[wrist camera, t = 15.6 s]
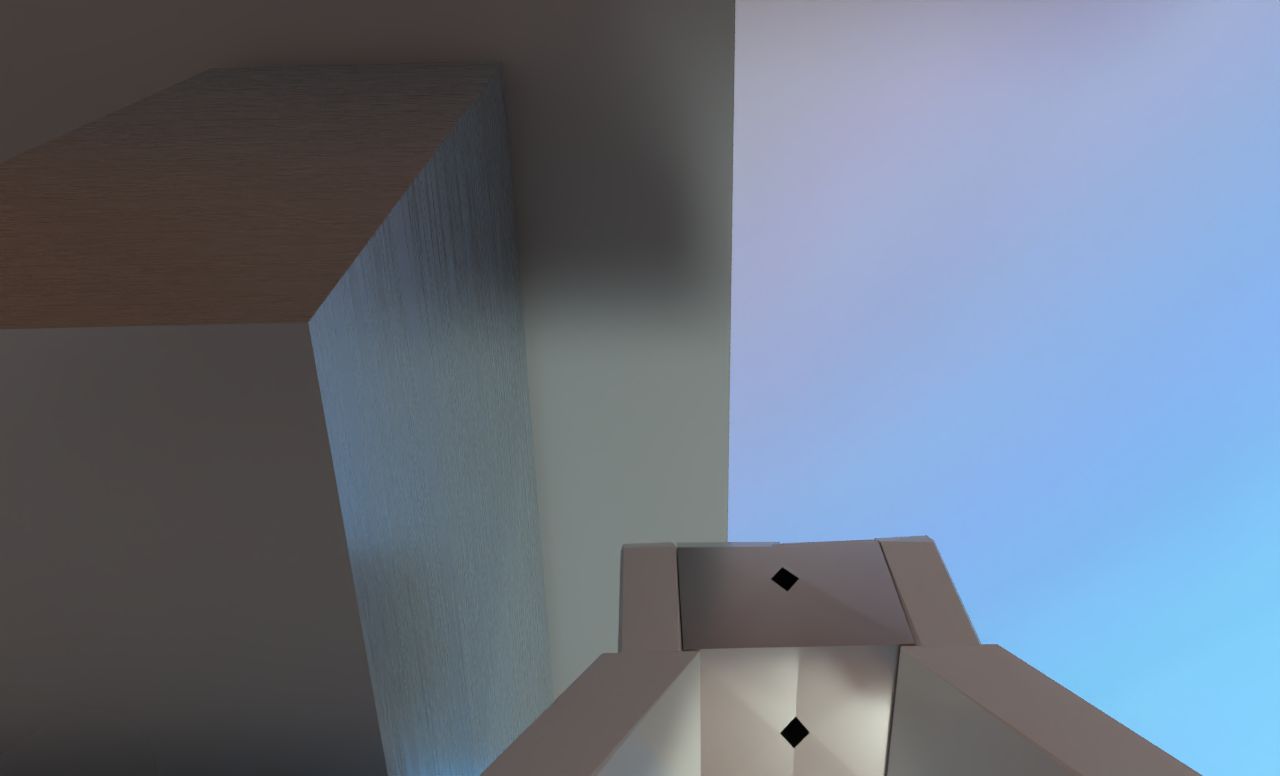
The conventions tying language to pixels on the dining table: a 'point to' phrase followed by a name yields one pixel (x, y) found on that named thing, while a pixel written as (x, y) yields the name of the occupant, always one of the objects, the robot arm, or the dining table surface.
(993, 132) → the dining table surface
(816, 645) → the robot arm
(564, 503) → the vise body
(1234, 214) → the dining table surface
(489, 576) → the block
